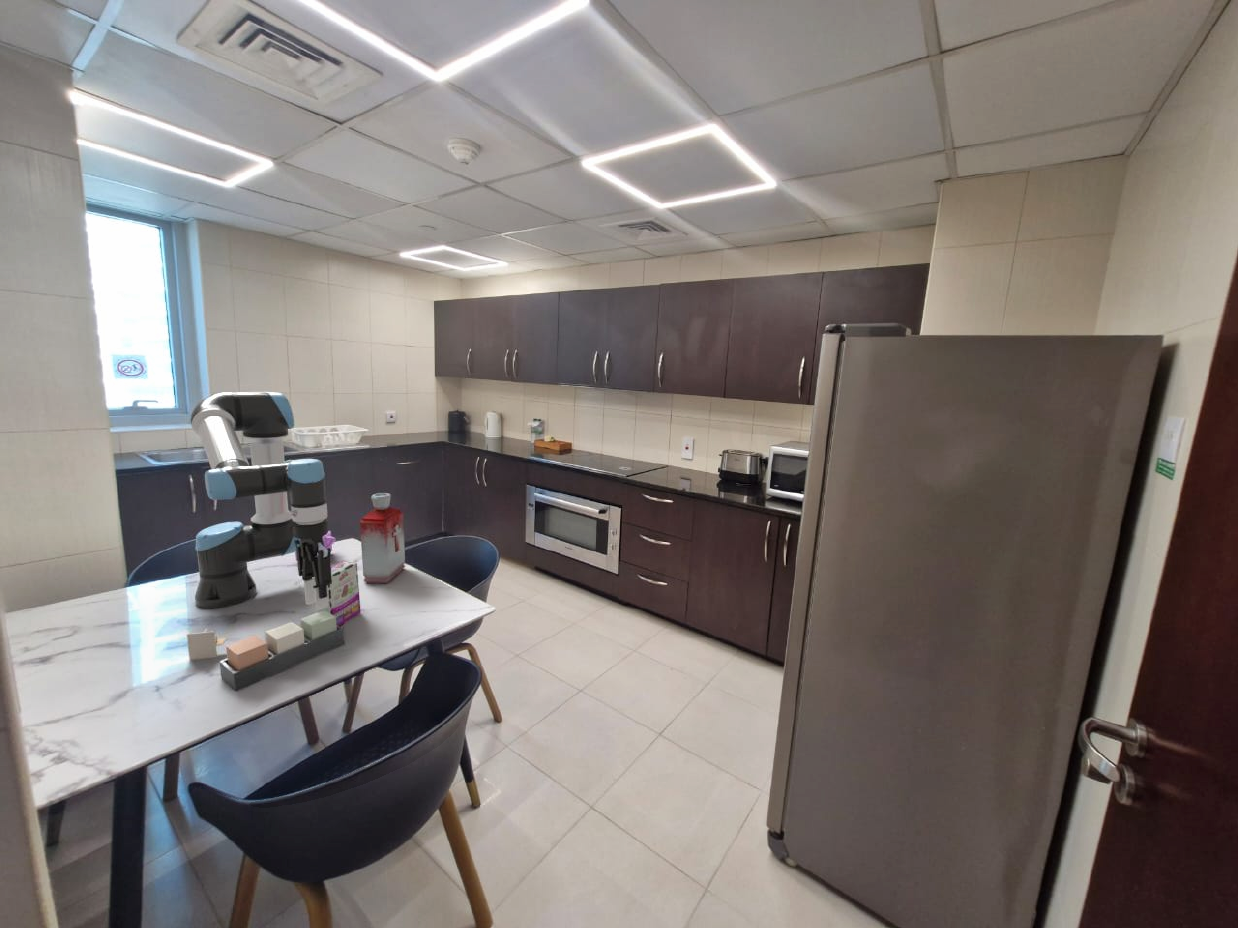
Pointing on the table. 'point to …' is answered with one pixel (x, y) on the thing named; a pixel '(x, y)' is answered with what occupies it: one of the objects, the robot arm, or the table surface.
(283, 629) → the ivory key
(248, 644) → the terracotta key
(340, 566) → the candy bar box
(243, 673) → the grey compartment tray
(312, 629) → the sage key
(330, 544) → the teapot
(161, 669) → the table surface
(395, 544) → the bottle
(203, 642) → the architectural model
